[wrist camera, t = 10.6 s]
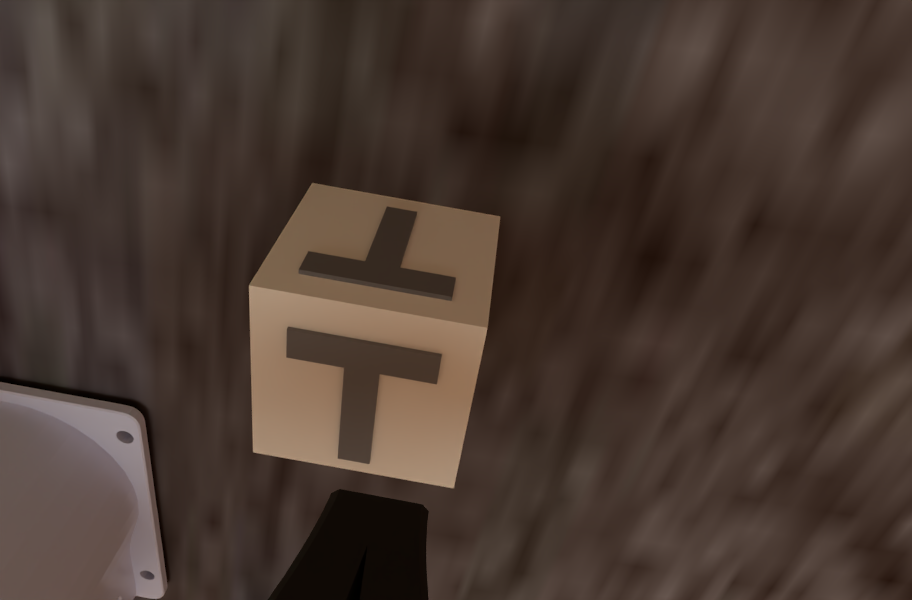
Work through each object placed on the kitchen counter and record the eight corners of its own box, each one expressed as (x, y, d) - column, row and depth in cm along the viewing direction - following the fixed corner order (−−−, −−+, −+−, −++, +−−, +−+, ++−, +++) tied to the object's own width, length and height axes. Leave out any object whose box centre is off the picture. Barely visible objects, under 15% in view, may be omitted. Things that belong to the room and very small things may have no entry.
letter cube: (471, 360, 20) (453, 491, 16) (307, 330, 20) (251, 455, 16) (501, 211, 17) (488, 326, 13) (313, 178, 17) (246, 283, 13)
